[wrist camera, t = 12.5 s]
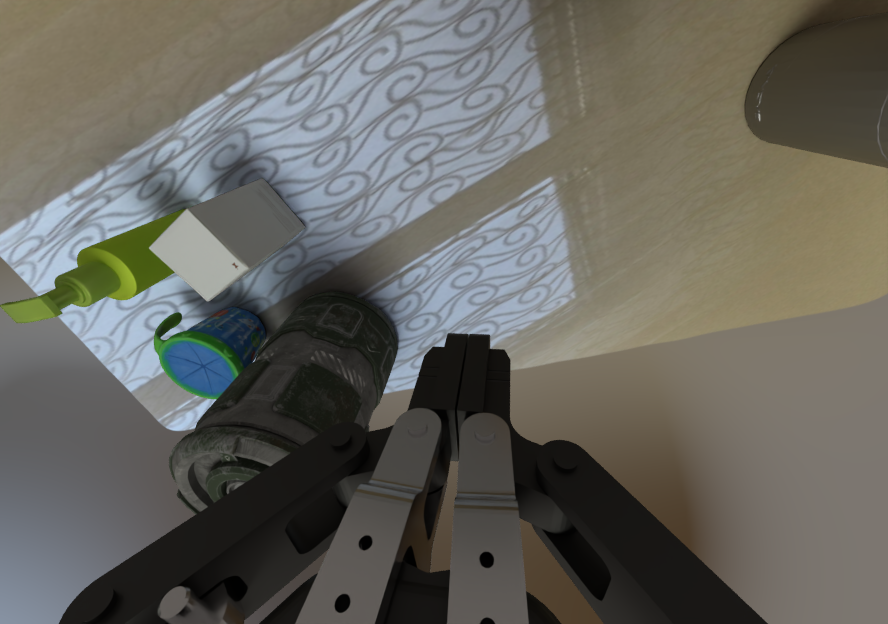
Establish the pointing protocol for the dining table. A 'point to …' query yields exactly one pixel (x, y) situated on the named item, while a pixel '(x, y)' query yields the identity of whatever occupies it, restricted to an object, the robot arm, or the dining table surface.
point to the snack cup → (210, 350)
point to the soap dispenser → (102, 274)
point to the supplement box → (226, 237)
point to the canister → (288, 395)
